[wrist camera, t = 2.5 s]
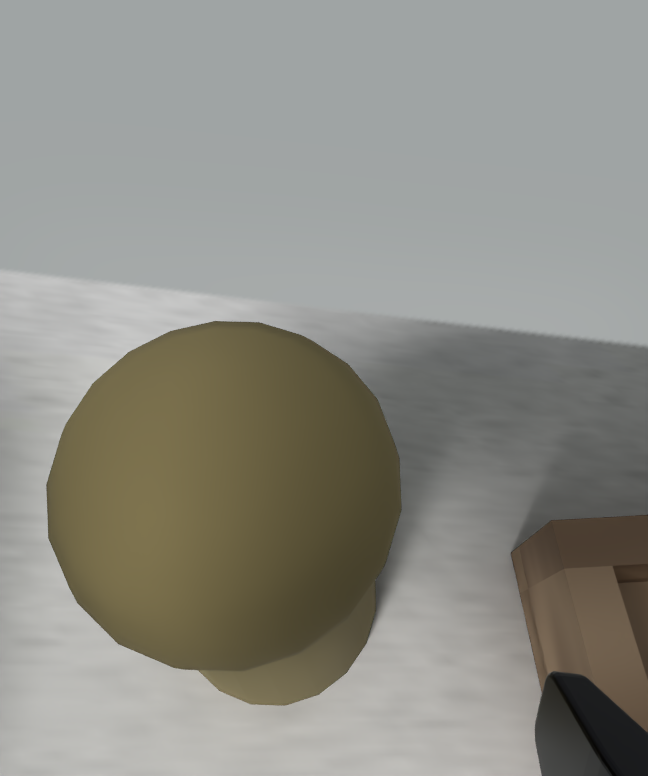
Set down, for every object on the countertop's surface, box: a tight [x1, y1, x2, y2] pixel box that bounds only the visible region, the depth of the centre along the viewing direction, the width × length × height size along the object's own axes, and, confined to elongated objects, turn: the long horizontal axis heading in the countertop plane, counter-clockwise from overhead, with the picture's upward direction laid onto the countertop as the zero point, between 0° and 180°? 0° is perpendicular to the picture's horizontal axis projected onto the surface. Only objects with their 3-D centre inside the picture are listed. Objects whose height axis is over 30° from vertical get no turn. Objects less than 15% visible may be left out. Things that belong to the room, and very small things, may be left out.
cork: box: [46, 321, 401, 705], centre depth 12 cm, size 6×6×11 cm
